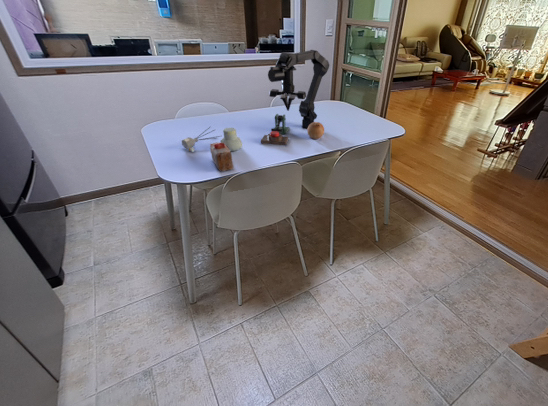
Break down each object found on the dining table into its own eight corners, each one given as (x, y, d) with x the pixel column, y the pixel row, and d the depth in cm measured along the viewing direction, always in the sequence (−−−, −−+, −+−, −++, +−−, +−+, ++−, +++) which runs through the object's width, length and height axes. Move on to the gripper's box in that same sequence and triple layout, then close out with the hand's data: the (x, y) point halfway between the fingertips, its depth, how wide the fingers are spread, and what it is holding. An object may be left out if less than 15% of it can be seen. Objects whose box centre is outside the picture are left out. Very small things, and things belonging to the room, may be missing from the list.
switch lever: (282, 133, 156) (281, 129, 154) (271, 132, 157) (270, 129, 155) (286, 119, 163) (285, 115, 161) (275, 118, 164) (275, 114, 162)
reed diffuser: (176, 135, 135) (211, 121, 148) (177, 146, 140) (211, 132, 153) (191, 148, 133) (225, 133, 146) (191, 159, 138) (224, 143, 152)
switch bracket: (285, 135, 162) (285, 118, 156) (271, 133, 162) (271, 117, 157) (289, 129, 170) (288, 113, 165) (275, 128, 170) (275, 112, 165)
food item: (210, 160, 130) (206, 139, 125) (228, 157, 134) (225, 136, 128) (218, 172, 120) (214, 150, 115) (236, 169, 124) (234, 147, 119)
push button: (279, 134, 151) (279, 131, 150) (278, 137, 148) (277, 134, 147) (271, 134, 152) (271, 130, 151) (269, 137, 148) (269, 133, 147)
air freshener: (244, 151, 140) (241, 131, 134) (227, 154, 136) (224, 134, 130) (236, 143, 147) (234, 124, 141) (220, 146, 143) (217, 127, 137)
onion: (318, 145, 159) (320, 132, 151) (303, 138, 160) (305, 125, 152) (325, 134, 164) (328, 122, 156) (311, 128, 165) (313, 114, 156)
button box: (288, 140, 155) (288, 133, 153) (285, 146, 148) (285, 138, 146) (264, 138, 155) (264, 131, 153) (261, 144, 148) (260, 136, 146)
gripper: (307, 78, 155) (306, 107, 163) (273, 76, 155) (274, 105, 164) (304, 82, 145) (304, 113, 154) (268, 79, 146) (269, 110, 155)
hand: (288, 110), depth 157 cm, fingers closed
